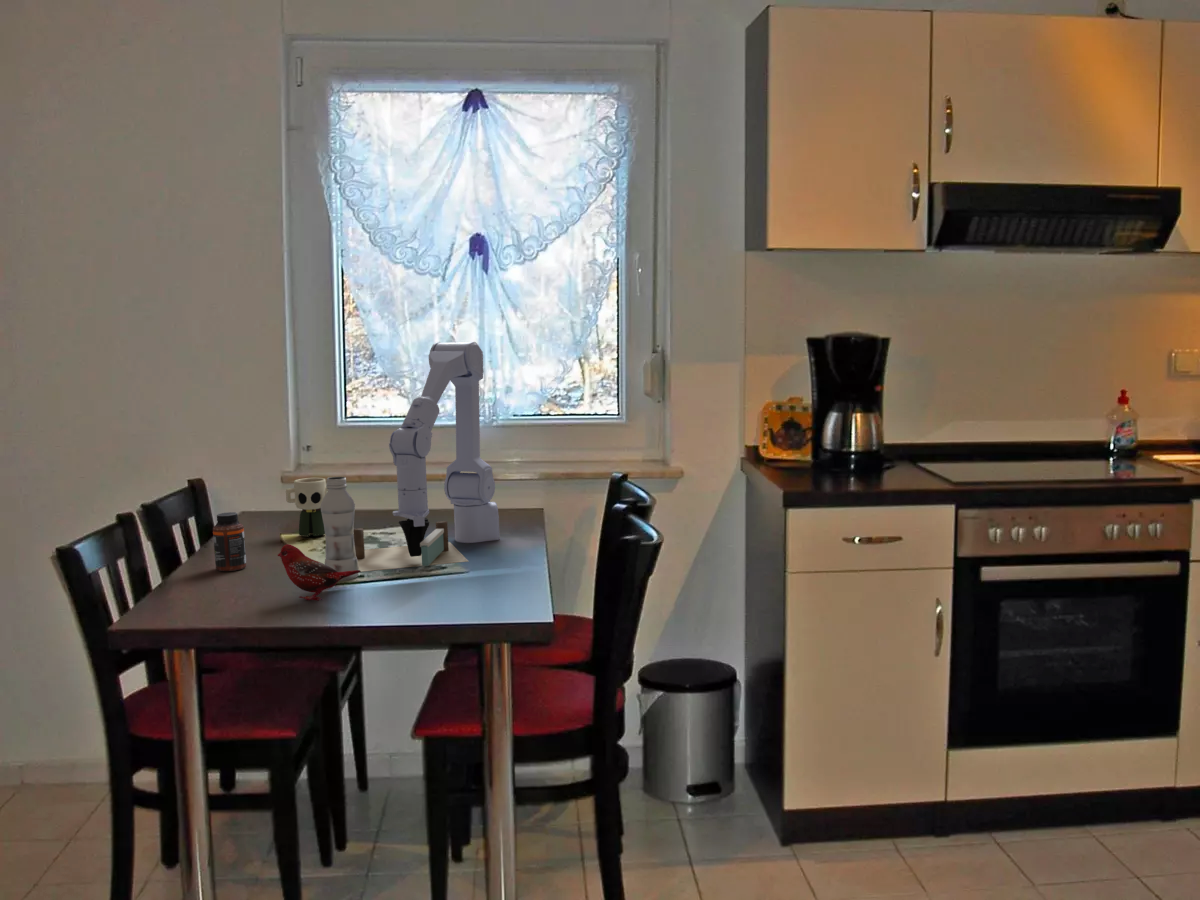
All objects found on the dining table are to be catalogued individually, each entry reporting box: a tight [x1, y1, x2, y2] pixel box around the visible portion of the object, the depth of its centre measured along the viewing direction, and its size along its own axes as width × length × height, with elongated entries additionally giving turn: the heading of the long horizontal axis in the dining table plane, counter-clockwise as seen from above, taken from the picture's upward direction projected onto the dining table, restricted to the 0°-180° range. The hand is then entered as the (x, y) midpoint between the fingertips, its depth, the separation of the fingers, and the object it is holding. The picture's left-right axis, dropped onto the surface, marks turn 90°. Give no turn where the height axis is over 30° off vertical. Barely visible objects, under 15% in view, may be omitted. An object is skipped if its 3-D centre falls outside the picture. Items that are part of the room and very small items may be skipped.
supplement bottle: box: [212, 511, 247, 572], centre depth 230 cm, size 6×6×11 cm
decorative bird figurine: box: [277, 543, 362, 602], centre depth 203 cm, size 3×18×10 cm, turn 67°
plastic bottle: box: [321, 476, 359, 582], centre depth 216 cm, size 6×7×20 cm
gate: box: [420, 528, 444, 567], centre depth 229 cm, size 14×2×4 cm, turn 175°
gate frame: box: [353, 520, 469, 573], centre depth 233 cm, size 22×20×7 cm
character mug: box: [285, 477, 328, 537], centre depth 261 cm, size 11×7×13 cm, turn 97°
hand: (415, 555), depth 227 cm, fingers closed
